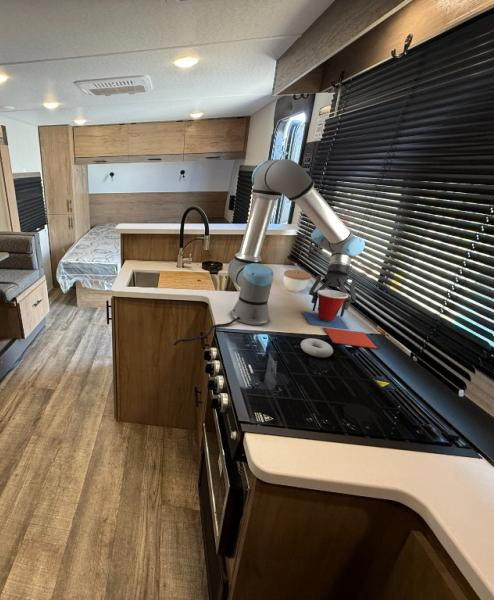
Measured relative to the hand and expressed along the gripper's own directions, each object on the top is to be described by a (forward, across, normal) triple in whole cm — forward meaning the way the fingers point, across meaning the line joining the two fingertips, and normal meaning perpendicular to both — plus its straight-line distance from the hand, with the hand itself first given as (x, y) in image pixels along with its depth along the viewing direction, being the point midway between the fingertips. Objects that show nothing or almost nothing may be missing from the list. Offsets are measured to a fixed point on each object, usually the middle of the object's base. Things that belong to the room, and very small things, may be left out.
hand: (327, 312), depth 129 cm
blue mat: (+1, 0, -6) cm, 6 cm away
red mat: (+10, -8, +3) cm, 14 cm away
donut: (+23, +2, +16) cm, 28 cm away
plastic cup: (+1, 0, -5) cm, 5 cm away
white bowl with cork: (-22, +16, -30) cm, 40 cm away
